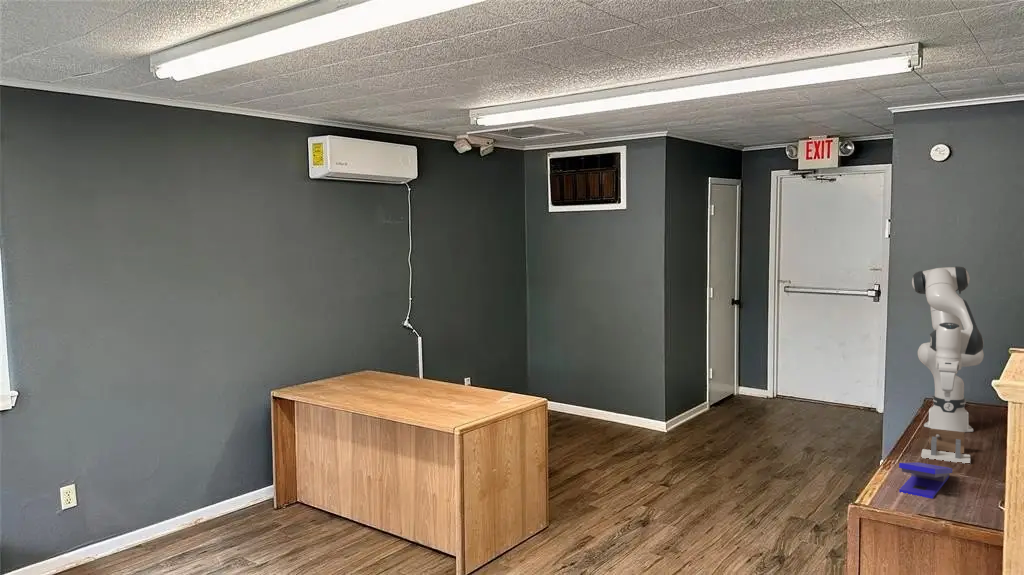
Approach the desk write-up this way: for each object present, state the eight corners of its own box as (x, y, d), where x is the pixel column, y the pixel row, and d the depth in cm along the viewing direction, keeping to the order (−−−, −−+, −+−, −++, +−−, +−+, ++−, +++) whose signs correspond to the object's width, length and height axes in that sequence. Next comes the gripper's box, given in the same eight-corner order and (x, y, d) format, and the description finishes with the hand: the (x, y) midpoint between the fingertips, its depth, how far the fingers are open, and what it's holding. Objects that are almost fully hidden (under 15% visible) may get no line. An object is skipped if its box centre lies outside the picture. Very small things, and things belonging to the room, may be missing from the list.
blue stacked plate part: (897, 492, 244) (897, 464, 244) (916, 471, 265) (916, 445, 265) (935, 500, 237) (936, 470, 236) (952, 478, 258) (953, 451, 257)
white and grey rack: (922, 452, 288) (922, 435, 287) (970, 458, 279) (970, 440, 279) (921, 457, 281) (921, 440, 281) (970, 464, 273) (970, 445, 272)
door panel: (929, 447, 295) (929, 428, 294) (963, 451, 289) (964, 432, 288) (928, 450, 292) (929, 430, 291) (963, 454, 285) (964, 434, 285)
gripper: (939, 359, 299) (939, 393, 300) (938, 367, 281) (937, 402, 282) (957, 361, 295) (957, 394, 296) (957, 368, 278) (956, 404, 279)
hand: (947, 398), depth 289 cm, fingers open, 8 cm apart
